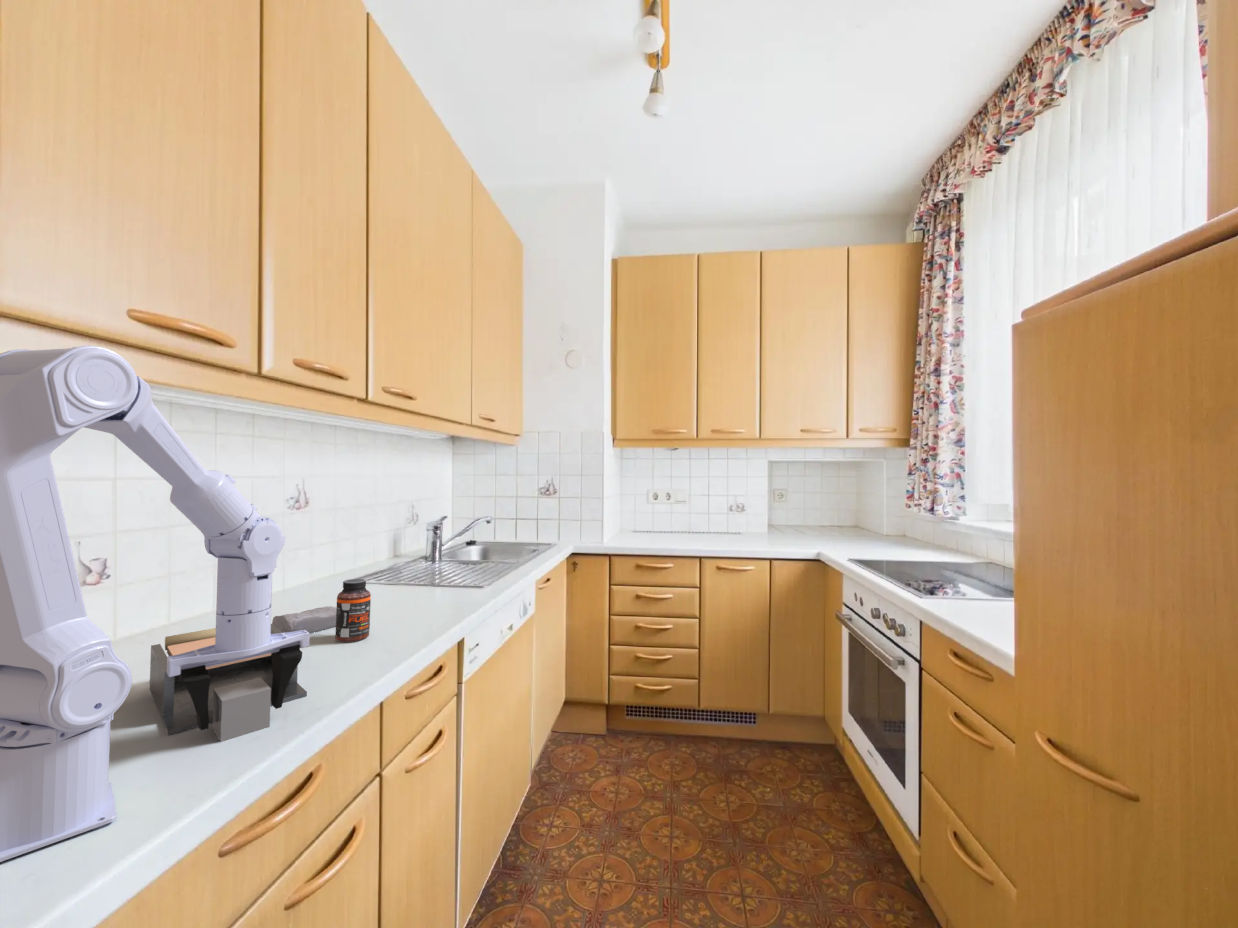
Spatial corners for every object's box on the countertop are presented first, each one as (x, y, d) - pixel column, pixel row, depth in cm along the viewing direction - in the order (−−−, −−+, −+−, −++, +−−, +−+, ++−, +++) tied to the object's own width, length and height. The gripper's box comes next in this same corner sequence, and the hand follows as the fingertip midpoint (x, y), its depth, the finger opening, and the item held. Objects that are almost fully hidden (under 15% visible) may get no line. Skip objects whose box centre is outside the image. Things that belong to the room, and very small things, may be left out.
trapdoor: (179, 675, 67) (180, 660, 67) (164, 648, 76) (164, 635, 76) (284, 652, 76) (285, 638, 76) (259, 630, 85) (259, 619, 85)
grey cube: (220, 742, 61) (222, 701, 61) (212, 728, 64) (213, 688, 64) (269, 727, 64) (270, 688, 65) (259, 714, 68) (260, 677, 68)
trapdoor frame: (167, 735, 62) (169, 682, 62) (149, 689, 75) (150, 645, 75) (306, 695, 73) (307, 651, 73) (270, 661, 86) (271, 623, 86)
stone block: (265, 641, 102) (292, 639, 97) (264, 617, 103) (291, 614, 98) (323, 628, 112) (350, 626, 108) (322, 606, 113) (349, 603, 108)
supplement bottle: (348, 645, 95) (350, 585, 95) (328, 640, 97) (329, 581, 98) (376, 636, 100) (377, 579, 100) (356, 631, 103) (357, 576, 103)
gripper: (298, 594, 73) (296, 688, 72) (164, 614, 62) (161, 725, 62) (315, 603, 68) (312, 704, 68) (173, 626, 57) (169, 747, 57)
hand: (241, 715), depth 64 cm, fingers open, 7 cm apart
